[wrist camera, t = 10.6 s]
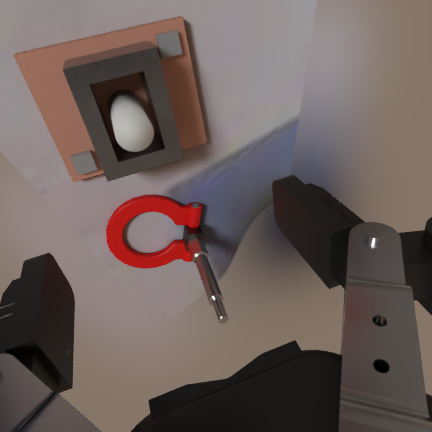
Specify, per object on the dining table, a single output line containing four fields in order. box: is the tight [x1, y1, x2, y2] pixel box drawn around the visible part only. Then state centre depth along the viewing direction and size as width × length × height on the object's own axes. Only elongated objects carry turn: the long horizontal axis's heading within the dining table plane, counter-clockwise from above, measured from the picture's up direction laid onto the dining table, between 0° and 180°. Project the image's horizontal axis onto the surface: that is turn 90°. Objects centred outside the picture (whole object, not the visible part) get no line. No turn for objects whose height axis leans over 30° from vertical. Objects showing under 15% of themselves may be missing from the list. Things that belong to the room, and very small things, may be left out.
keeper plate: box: [14, 16, 207, 182], centre depth 25 cm, size 10×12×8 cm
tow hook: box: [106, 195, 228, 323], centre depth 30 cm, size 8×13×9 cm
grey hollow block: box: [62, 41, 184, 181], centre depth 25 cm, size 8×6×4 cm
